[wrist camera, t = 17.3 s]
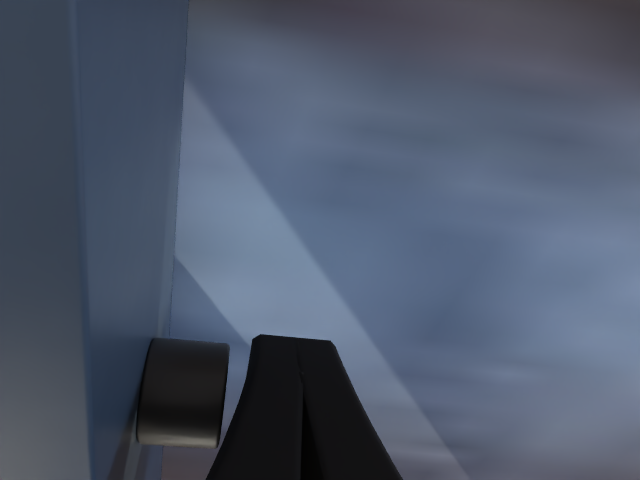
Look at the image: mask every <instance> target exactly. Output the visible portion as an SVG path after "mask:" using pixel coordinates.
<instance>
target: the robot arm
mask: <svg viewBox="0 0 640 480" xmlns="http://www.w3.org/2000/svg"><path fill="white" fill-rule="evenodd" d="M206 480H403V479H402V477H401V475H400V474H399V472H398V470H397V469H396V467H395V465H394V464H393V462H392V460H391V458H390V456H389V455H388V453H387V451H386V449H385V447H384V446H383V444H382V442H381V440H380V438H379V437H378V435H377V433H376V431H375V429H374V427H373V426H372V424H371V422H370V420H369V418H368V416H367V414H366V412H365V410H364V408H363V406H362V404H361V402H360V400H359V398H358V396H357V394H356V392H355V390H354V388H353V386H352V384H351V381H350V379H349V377H348V375H347V373H346V370H345V368H344V366H343V364H342V361H341V359H340V357H339V354H338V352H337V349H336V347H335V346H334V344H333V343H332V342H331V341H328V340H317V339H306V338H295V337H284V336H273V335H263V334H260V335H259V336H257V337H255V338H253V339H252V345H251V351H250V357H249V364H248V370H247V376H246V380H245V383H244V387H243V390H242V393H241V396H240V399H239V402H238V405H237V407H236V410H235V413H234V415H233V418H232V420H231V423H230V425H229V428H228V431H227V433H226V436H225V438H224V441H223V443H222V445H221V448H220V450H219V452H218V454H217V457H216V459H215V461H214V463H213V465H212V467H211V469H210V471H209V474H208V476H207V478H206Z"/></svg>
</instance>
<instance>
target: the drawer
mask: <svg viewBox="0 0 640 480" xmlns="http://www.w3.org/2000/svg"><path fill="white" fill-rule="evenodd" d="M188 6H189V0H0V480H161V471H162V454H163V446H177V447H193V448H210V449H215V448H217V447H218V445H219V441H220V434H221V426H222V418H223V410H224V401H225V392H226V383H227V373H228V363H229V350H230V347H229V345H228V344H226V343H214V342H203V341H191V340H180V339H169V334H170V316H171V299H172V282H173V265H174V247H175V230H176V213H177V196H178V178H179V161H180V144H181V127H182V110H183V92H184V75H185V58H186V41H187V23H188Z"/></svg>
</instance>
